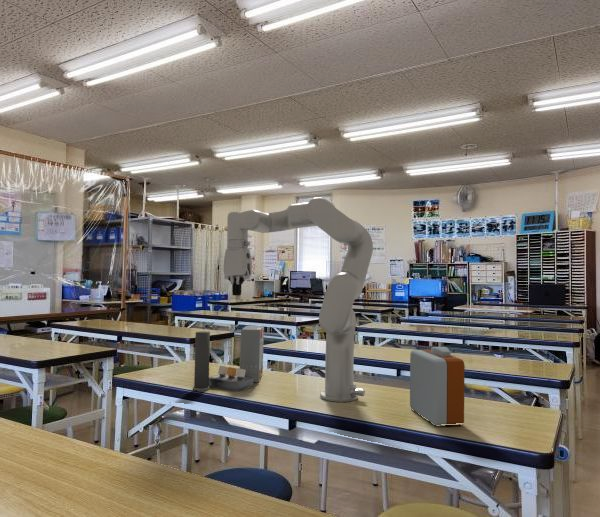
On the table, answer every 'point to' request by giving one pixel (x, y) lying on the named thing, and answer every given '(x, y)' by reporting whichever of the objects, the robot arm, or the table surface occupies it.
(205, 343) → the dark grey tall block
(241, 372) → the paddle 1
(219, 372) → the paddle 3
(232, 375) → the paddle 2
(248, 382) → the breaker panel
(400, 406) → the table surface
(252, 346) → the hard drive box
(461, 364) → the grey and brown block
